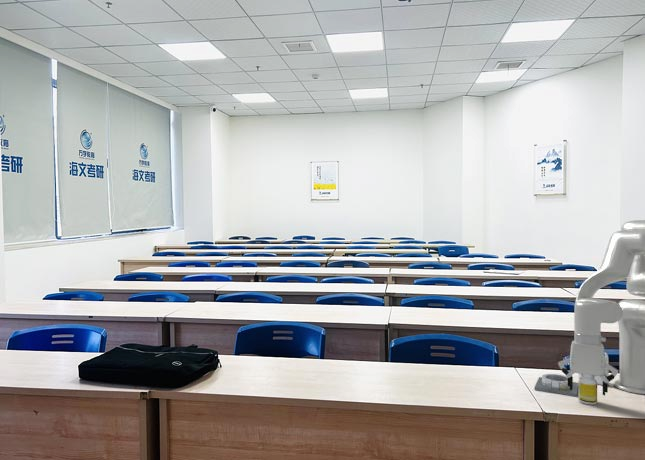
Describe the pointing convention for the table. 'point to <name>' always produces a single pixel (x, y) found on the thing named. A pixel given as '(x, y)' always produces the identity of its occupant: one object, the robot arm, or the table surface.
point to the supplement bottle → (587, 389)
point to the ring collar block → (556, 384)
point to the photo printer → (598, 378)
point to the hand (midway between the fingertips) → (587, 391)
